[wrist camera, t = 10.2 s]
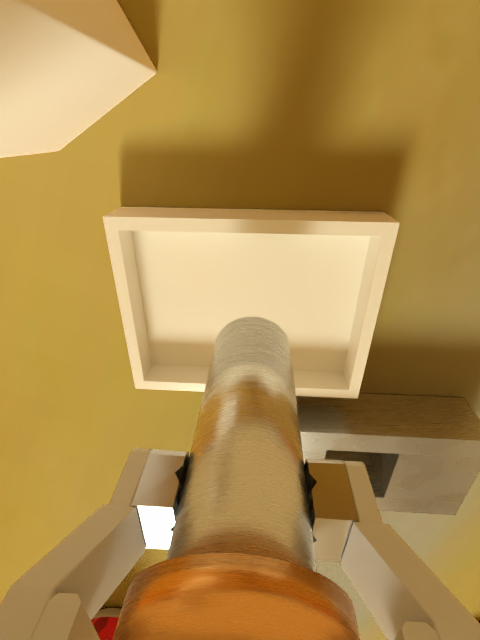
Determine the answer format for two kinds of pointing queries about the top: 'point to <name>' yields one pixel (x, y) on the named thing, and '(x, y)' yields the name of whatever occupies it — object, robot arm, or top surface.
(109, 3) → the milk
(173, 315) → the tray
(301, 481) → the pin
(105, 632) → the soda can
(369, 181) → the top surface
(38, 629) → the robot arm
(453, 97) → the top surface
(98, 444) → the top surface
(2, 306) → the top surface
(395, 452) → the white block with hole
